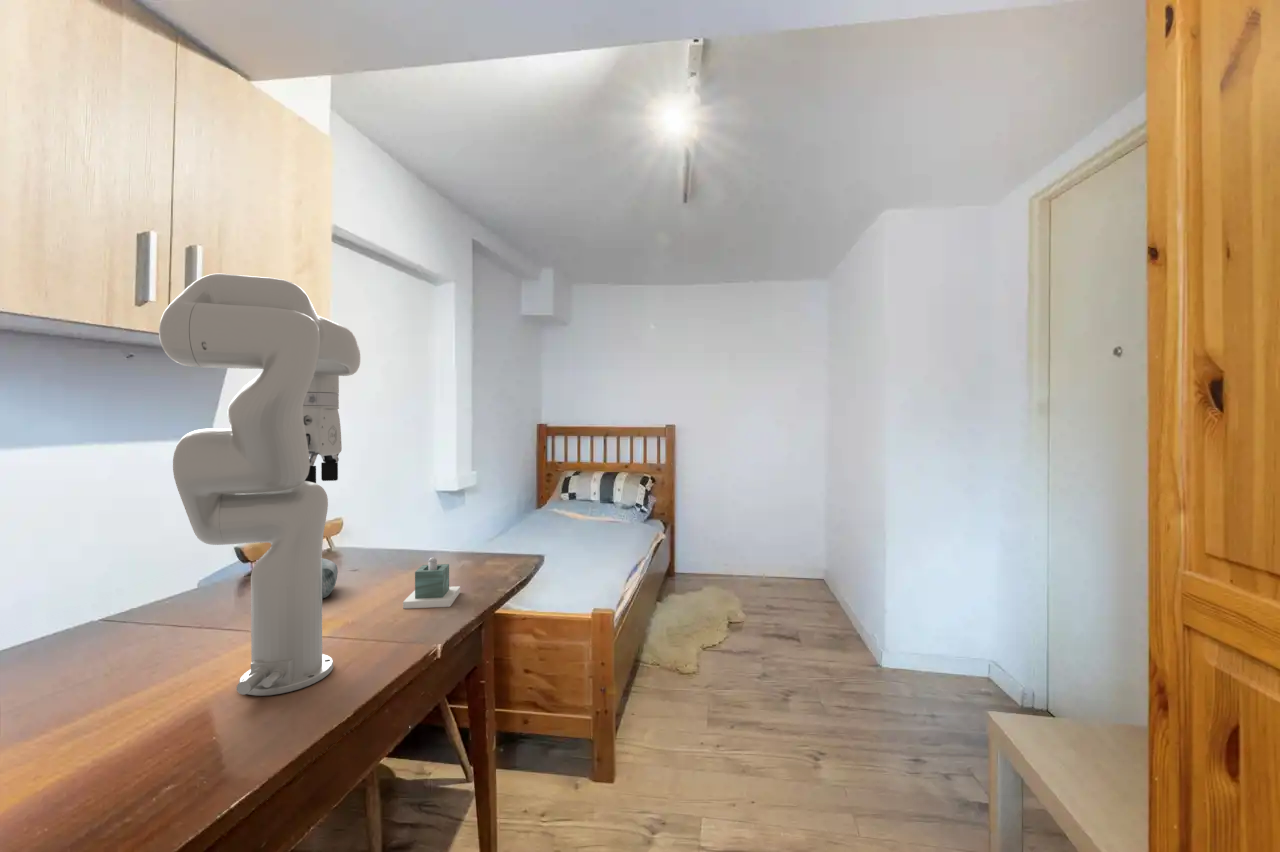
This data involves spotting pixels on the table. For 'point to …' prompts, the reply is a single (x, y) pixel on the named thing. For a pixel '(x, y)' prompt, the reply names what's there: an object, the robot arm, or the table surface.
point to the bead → (432, 581)
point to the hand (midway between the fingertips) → (318, 483)
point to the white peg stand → (432, 602)
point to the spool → (328, 577)
